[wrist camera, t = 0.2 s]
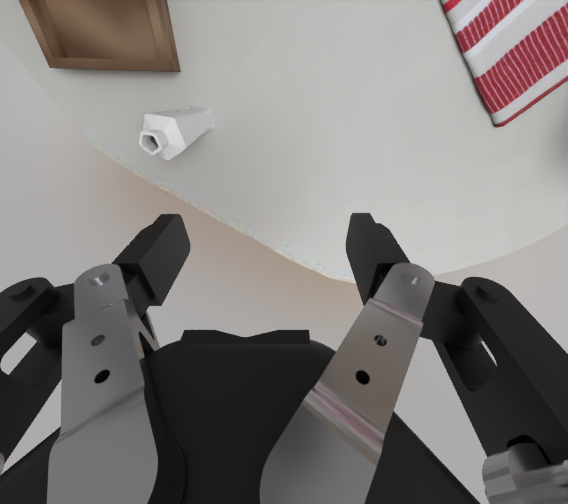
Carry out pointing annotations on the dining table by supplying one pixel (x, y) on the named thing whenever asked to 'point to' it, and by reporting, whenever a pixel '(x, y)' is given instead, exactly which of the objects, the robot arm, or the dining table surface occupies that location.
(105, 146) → the dining table surface
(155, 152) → the white faceted vase
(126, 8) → the tray
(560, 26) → the dish towel
